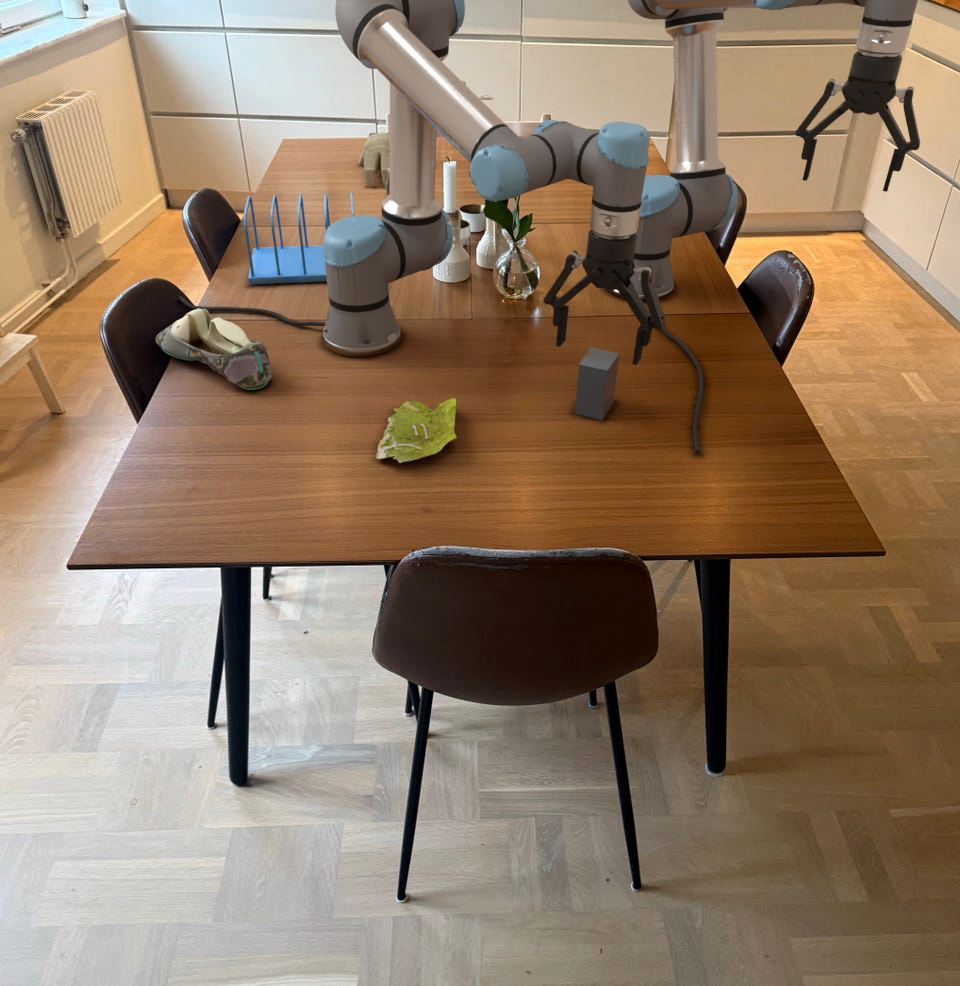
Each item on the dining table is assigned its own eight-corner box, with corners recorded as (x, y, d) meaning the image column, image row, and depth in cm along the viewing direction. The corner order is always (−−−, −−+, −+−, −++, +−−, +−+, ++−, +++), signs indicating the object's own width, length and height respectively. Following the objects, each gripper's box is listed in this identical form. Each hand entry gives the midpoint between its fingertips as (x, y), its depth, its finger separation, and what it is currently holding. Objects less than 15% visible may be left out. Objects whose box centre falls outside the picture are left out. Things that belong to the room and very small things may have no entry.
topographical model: (451, 471, 138) (449, 459, 136) (372, 473, 140) (370, 460, 138) (466, 405, 153) (464, 393, 152) (395, 407, 155) (392, 395, 154)
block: (586, 396, 158) (591, 347, 152) (613, 402, 156) (619, 353, 150) (574, 413, 153) (578, 364, 147) (602, 420, 152) (607, 370, 146)
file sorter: (249, 286, 194) (237, 218, 185) (254, 255, 208) (244, 191, 199) (362, 280, 197) (356, 213, 188) (360, 251, 211) (355, 187, 201)
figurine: (408, 193, 250) (411, 152, 272) (406, 161, 244) (410, 123, 266) (351, 193, 249) (359, 153, 271) (348, 162, 243) (356, 123, 265)
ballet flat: (186, 330, 177) (176, 284, 171) (293, 374, 163) (286, 324, 157) (142, 351, 170) (129, 303, 164) (249, 398, 156) (240, 348, 150)
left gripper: (529, 224, 136) (522, 345, 150) (686, 255, 129) (663, 379, 142) (546, 209, 142) (538, 327, 155) (698, 237, 134) (675, 358, 147)
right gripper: (796, 49, 144) (770, 180, 157) (961, 64, 136) (919, 200, 149) (803, 41, 149) (777, 168, 162) (962, 55, 141) (921, 187, 154)
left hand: (598, 352), depth 148 cm, fingers open, 13 cm apart
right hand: (844, 183), depth 155 cm, fingers open, 13 cm apart
